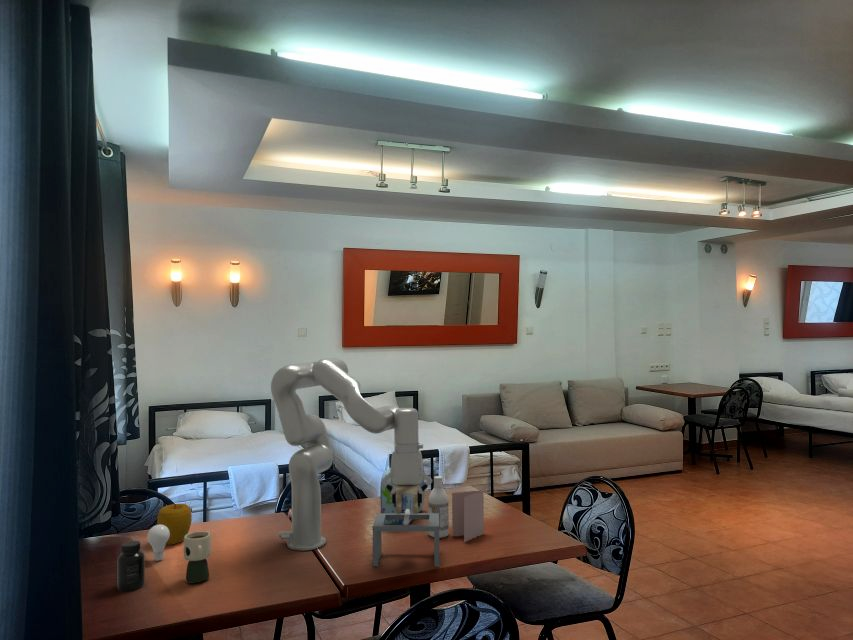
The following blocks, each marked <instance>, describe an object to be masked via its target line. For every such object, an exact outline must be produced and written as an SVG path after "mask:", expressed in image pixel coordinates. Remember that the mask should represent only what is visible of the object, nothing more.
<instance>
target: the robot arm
mask: <svg viewBox="0 0 853 640" xmlns="http://www.w3.org/2000/svg"><path fill="white" fill-rule="evenodd" d="M319 386H321V387H322V388H323V389H324V390H326V391H327V392H328V393H329V394H331V395H332V396H334V397H335V398H336V399H337V400H339V402H340V403H341V404H342V405H343V408H344V409H345V411H346V412H347V415H348V416H349V417H350V418H351V419H352V420H353V421H354V422H355V423H356V424H357V425H359V427H362V428H363V429H364V430H365V431H367V432H369V433H371V434H381V433H383V432H384V433H385V432H386V431H390V430H393V431H394V436H393V437H394V438H393V439H394V443H393V444H394V445H393V446H394V451H392V453H391V460H390V468H391V472H390V473H389V474H388V475H387V476H386V477H385V478H384V479H382V478H381V479H382V483H383V485H384V486H385V487H386V488H387V489H388V490H389V491H390V492H391V493H392V504H394V507H396V486H398V485H416V486H417V487H418V507H420V503H422V493H423V492H424V493H425V490H427V488H428V487H429V486H430V485H431V484H432V483H433V479H432V478H431V477H430V476H429V475H428V474H427V473H426V472H425V471H424V472H425V473H424V472H423V467H424V463H423V455H422V452H421V451H420V450H421V449H424V444H423V443H420V441H419V411H418V410H417V409H416V408H413V407H396V406H391V405H384V406H380V407H377V408H376V407H375V406H373V405H372V404H371V403H369V402H368V401H367V400H366V399H365V398H364V397H363V396H362V395H361V392H360V390H361V384H360V382H359V381H358V380H357V379H355V377H353V376H351V374H349V369H348V365H347V363H346V362H345V361H344V360H342V359H340V358H336V357H331V358H323V359H320V360H318V361H312V362H305V363H304V362H303V363H293V364H287V365H284V366H282V367H281V368H279V369H278V370H277V371H276V372H275V373H274V374H273V376H272V379H271V383H270V393H271V395H272V398H273V401H274V403H275V406H276V407H275V408H276V410H277V413H278V414H277V415H278V417H279V421H280V424H281V427H282V428H281V429H282V431H283V435H284V438H285V441H286V442H287V444H289V445H290V446H293V447H299V446H302V445H304V446H305V447H304V448H301V449H300V450H297V451H296V452H294V453H293V454H292V456H291V457H290V458H289V462H288V472H289V478H290V483H291V484H290V485H291V529H290V530H288V531H286V530H285V531H284V530H282V531H281V530H280V531H278V532H279V533H278V537H279V538H280V539H281V540H287V542H286V545H287V548H288V549H290V550H294V551H300V552H301V551H304V552H305V551H312V550H316V548H317V547H320V546H322V545H323V546H325V545H326V543H327V539H326V538H325V536H322V494H321V493H322V489H321V484H320V480H319V478H318V475H319V474H321V473H323V472H325V471H327V470H328V469H330V468H331V466H332V465H333V462H334V455H333V454H334V453H333V450H332V446H331V442H330V438H329V435H328V432H327V429H326V426H325V425H326V424H325V423H324V422H323V419H321V417H320V416H318V415H316V414H311V413H308V414H306V411H305V407H304V404H303V401H302V399H301V398H300V396H299V395H298V393H297V390H301V389H306V388H312V387H313V388H314V387H319ZM390 478H391V484H393V487H392V486H391V485H390V484H389V483H388V482H387V481H388V480H389V479H390ZM423 478H424V481H425V482H424V485H423V486H421V484H422V482H423ZM324 544H325V545H324ZM323 546H322V547H323ZM320 548H321V547H320ZM317 549H318V548H317Z"/></svg>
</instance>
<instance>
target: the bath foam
mask: <svg viewBox="0 0 853 640" xmlns="http://www.w3.org/2000/svg"><path fill="white" fill-rule="evenodd" d="M427 503H428V506H427V507H428V512H427V513H439V539H441V538H446V537H447V536H449V530H450V529H449V528H450V526H449V525H450V522H449V520H450V518H449V514H450V513H449V509H450V508H449V504H450V503H449V496H448V494H447V492H446V491H445V489H444V487H443V476H440V475H438V476H437V475H436V476H434V478H433V489H432V490H431V491H430V494H429V496H428V502H427ZM427 520H428V521H429V519H427ZM428 536H429V537H431V538H434V531H428Z"/></svg>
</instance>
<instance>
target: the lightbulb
mask: <svg viewBox="0 0 853 640" xmlns="http://www.w3.org/2000/svg"><path fill="white" fill-rule="evenodd" d="M169 536H170V531H169V529H168V528H167V527H166V526H165V525H161V524H160V525H157V524H156V525H153V526H152V527H150V529H149V530H148V532H147V535H146V537H147V541H148V543H149V544H150V546H151V548H152V551H153V560H154V561H157V562H160V561H162V560H163V559H164V550H165V547H166V545H167V544H166V542H167V541H168V539H169Z"/></svg>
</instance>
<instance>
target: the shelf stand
mask: <svg viewBox="0 0 853 640" xmlns="http://www.w3.org/2000/svg"><path fill="white" fill-rule="evenodd" d="M387 519H404V522H403V524H404V525H397V524H396V525H394V524H385V520H387ZM409 519H413V520H428V519H429V520H428V524H410V523H409ZM429 531H434V537H433V538H434V539H433V543H434V544H433V549H434V550H433V552H434V553H433V555H434V557H433V558H434V563H433V564H434V568H435V567H437V568H438V567H439V568H440V538H439V513H428V512H427V513H426V512H425V513H421V512H419V513H418V514H413V513H410V510H409V509H406V510H405V513H401V514H396V513H381V512H379V513H376V515H375V518H374V521H373V524H372V567H373V566H378V567H379V564H378V563H380V560H381V559H380V558H381V555H382V546H383V545H382V543H383V542H382V532H393V533H394V532H397V533H398V532H429ZM379 559H380V560H379Z"/></svg>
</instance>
